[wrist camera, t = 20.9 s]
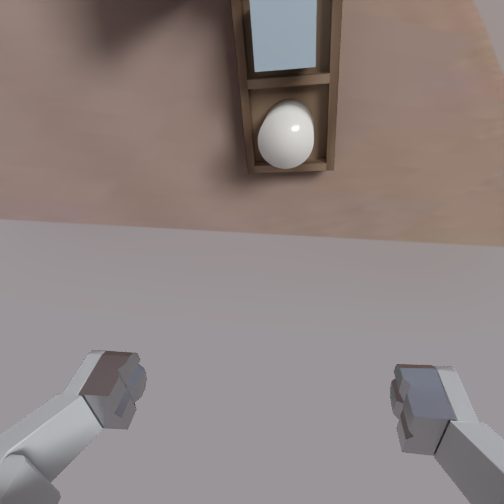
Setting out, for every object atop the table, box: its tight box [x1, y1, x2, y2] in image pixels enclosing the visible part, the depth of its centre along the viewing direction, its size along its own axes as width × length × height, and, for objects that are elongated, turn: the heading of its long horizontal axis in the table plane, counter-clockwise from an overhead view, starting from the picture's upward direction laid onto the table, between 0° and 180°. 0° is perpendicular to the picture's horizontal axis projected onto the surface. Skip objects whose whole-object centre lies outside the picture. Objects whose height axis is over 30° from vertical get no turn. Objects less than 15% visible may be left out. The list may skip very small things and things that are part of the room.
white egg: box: [258, 98, 314, 169], centre depth 33 cm, size 5×5×6 cm
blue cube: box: [250, 0, 317, 72], centre depth 29 cm, size 5×5×5 cm
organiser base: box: [231, 0, 342, 173], centre depth 33 cm, size 9×17×3 cm, turn 5°
